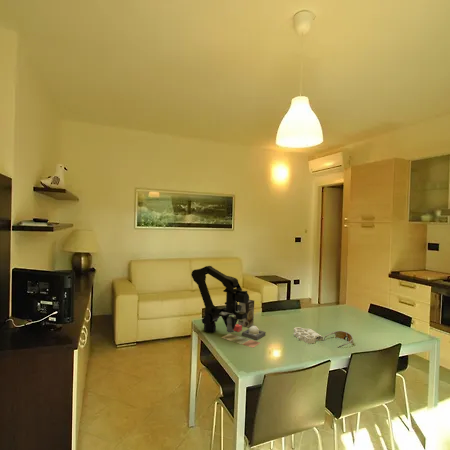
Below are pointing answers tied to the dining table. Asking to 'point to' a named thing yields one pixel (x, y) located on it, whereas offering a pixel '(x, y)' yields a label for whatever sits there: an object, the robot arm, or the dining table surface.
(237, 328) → the red die
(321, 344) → the dining table surface
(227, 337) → the game board
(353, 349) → the dining table surface
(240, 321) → the coffee box
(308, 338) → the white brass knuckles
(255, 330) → the cream cylinder
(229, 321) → the pawn
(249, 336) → the base
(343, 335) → the sunglasses
